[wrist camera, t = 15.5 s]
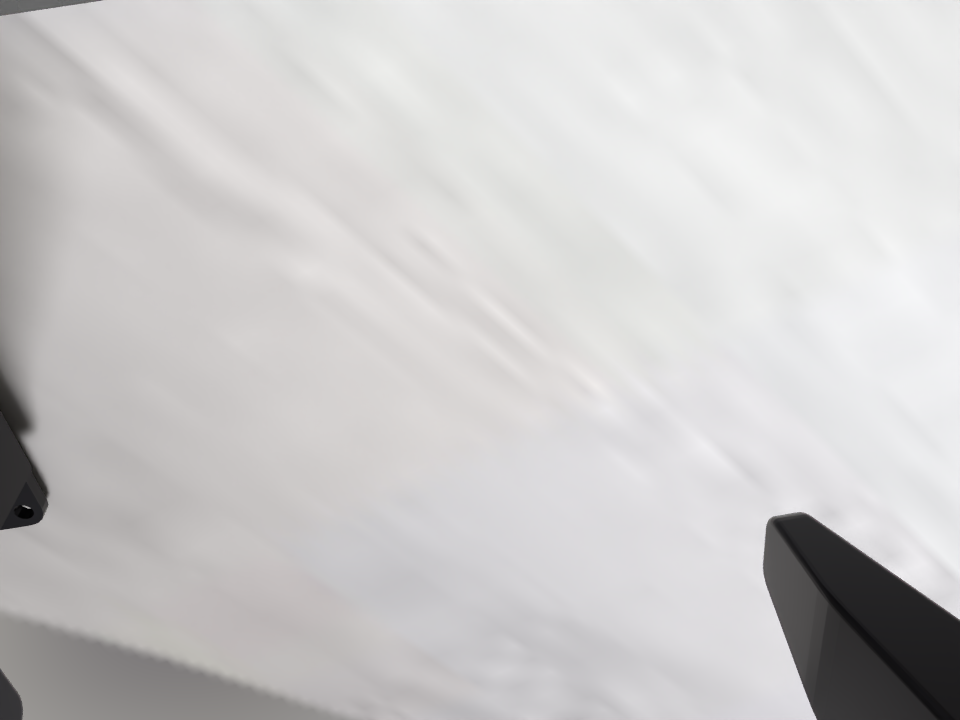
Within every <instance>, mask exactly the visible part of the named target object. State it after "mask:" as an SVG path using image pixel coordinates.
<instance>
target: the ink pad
mask: <svg viewBox="0 0 960 720" xmlns="http://www.w3.org/2000/svg"><path fill="white" fill-rule="evenodd" d="M95 1H101V0H0V16H2V15H8V14H15V13H22V12H28V11H35V10H42V9H48V8H55V7H62V6H68V5H75V4H82V3H88V2H95Z"/></svg>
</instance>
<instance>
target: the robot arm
mask: <svg viewBox="0 0 960 720" xmlns="http://www.w3.org/2000/svg"><path fill="white" fill-rule="evenodd" d="M31 471H32V467H31V464H30V463H29V461H28V459H27V457H26V456H25V454H24V452H23V450H22V448H21V447H20V445H19V443H18V441H17V440H16V438H15V436H14V434H13V432H12V431H11V429H10V427H9V425H8V423H7V422H6V420H5V418H4V416H3V415H2V413H1V411H0V530H4V529H10V528H17V527H23V526H29V525H33V524H36V523H38V522H40V521H41V520H42V518H43V516H44V514H45V512H46V510H47V507H48V501H47V498H46V497H45V495H44V493H43V491H42V490H41V488H40V486H39V484H38V482H37V481H36V479H35V477H34V475H33V474H32V472H31ZM22 505H25V506H28V507H30V508H31V509H27V508H25V507H23V506H22ZM763 572H764V578H765V582H766V585H767V588H768V591H769V594H770V597H771V599H772V602H773V605H774V607H775V610H776V613H777V616H778V618H779V621H780V624H781V627H782V629H783V632H784V635H785V637H786V640H787V643H788V646H789V648H790V651H791V654H792V657H793V659H794V662H795V665H796V668H797V670H798V673H799V676H800V678H801V681H802V684H803V687H804V689H805V692H806V694H807V697H808V700H809V702H810V705H811V707H812V710H813V712H814V714H815V716H816V718H817V720H960V620H959V619H958V618H956V617H955V616H954V615H952V614H951V613H949V612H948V611H946V610H945V609H944V608H942V607H941V606H939V605H938V604H936V603H935V602H933V601H932V600H931V599H929V598H928V597H926V596H925V595H923V594H922V593H921V592H919V591H918V590H916V589H915V588H913V587H912V586H911V585H909V584H908V583H906V582H905V581H903V580H902V579H901V578H899V577H898V576H896V575H895V574H893V573H892V572H890V571H889V570H888V569H886V568H885V567H883V566H882V565H880V564H879V563H878V562H876V561H875V560H873V559H872V558H870V557H869V556H868V555H866V554H865V553H863V552H862V551H860V550H859V549H857V548H856V547H855V546H853V545H852V544H850V543H849V542H847V541H846V540H845V539H843V538H842V537H840V536H839V535H837V534H836V533H835V532H833V531H832V530H830V529H829V528H827V527H826V526H825V525H823V524H822V523H820V522H819V521H817V520H816V519H814V518H813V517H812V516H810V515H808V514H806V513H802V512H797V513H791V514H785V515H780V516H774V517H772V518H770V519H769V521H768V522H767V526H766V536H765V548H764V560H763ZM22 715H23V707H22V701H21V698H20V695H19V694H18V692H17V691H16V689H15V688H14V687H13V685H12V684H11V683H10V681H9V680H8V679H7V677H6V676H5V674H4V673H3V672H2V670H1V669H0V720H22Z"/></svg>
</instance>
